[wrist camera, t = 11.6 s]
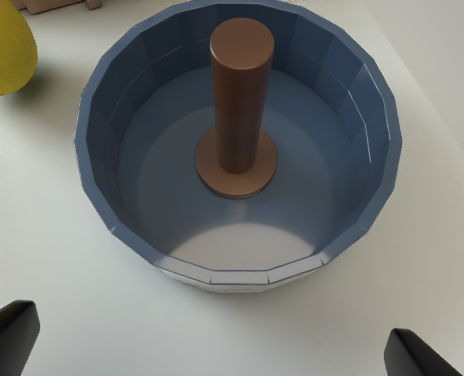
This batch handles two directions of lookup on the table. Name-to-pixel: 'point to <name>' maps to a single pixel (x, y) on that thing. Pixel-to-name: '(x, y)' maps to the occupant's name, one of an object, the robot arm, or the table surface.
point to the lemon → (15, 49)
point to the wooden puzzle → (49, 4)
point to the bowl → (273, 123)
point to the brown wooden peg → (238, 112)
